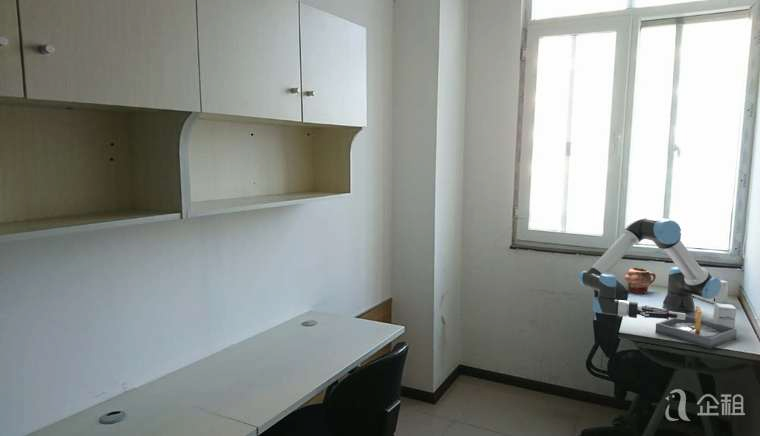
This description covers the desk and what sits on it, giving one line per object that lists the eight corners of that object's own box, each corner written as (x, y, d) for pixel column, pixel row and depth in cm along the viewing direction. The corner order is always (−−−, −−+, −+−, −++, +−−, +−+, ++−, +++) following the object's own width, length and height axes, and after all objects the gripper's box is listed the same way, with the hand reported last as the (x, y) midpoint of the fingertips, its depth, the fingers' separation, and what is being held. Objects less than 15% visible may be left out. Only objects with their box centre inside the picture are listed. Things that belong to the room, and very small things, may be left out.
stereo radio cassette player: (727, 304, 289) (730, 269, 286) (715, 305, 287) (718, 270, 284) (696, 294, 309) (699, 261, 306) (685, 295, 307) (688, 262, 304)
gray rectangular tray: (681, 323, 255) (682, 314, 255) (735, 338, 235) (736, 329, 235) (655, 332, 242) (656, 323, 242) (709, 348, 222) (710, 338, 222)
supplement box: (715, 332, 243) (718, 306, 241) (712, 327, 250) (714, 302, 248) (734, 334, 240) (736, 308, 239) (729, 329, 247) (732, 304, 246)
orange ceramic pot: (645, 288, 322) (647, 266, 320) (660, 293, 310) (662, 270, 308) (618, 289, 317) (620, 267, 315) (632, 295, 305) (634, 272, 304)
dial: (673, 323, 250) (675, 298, 248) (714, 329, 242) (717, 303, 241) (675, 335, 234) (677, 308, 232) (719, 341, 226) (722, 314, 225)
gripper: (628, 312, 252) (683, 320, 241) (627, 320, 240) (685, 328, 229) (629, 298, 251) (685, 305, 240) (628, 305, 239) (686, 312, 228)
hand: (685, 316), depth 235 cm, fingers closed
